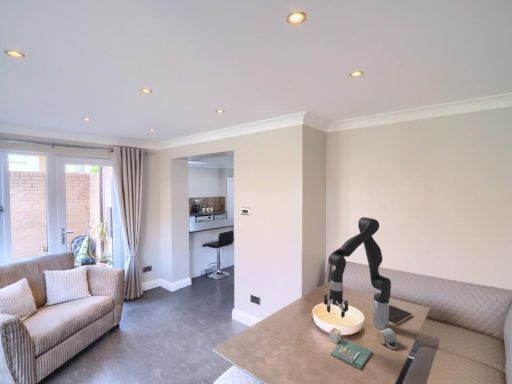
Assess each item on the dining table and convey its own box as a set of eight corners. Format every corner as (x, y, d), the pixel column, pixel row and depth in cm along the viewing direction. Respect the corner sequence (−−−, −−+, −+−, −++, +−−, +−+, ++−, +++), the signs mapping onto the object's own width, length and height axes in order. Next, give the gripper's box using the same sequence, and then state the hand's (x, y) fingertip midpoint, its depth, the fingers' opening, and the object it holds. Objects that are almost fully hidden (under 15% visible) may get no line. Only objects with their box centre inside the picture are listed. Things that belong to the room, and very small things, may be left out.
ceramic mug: (375, 340, 154) (376, 328, 153) (385, 337, 157) (386, 325, 156) (390, 351, 144) (391, 338, 143) (401, 348, 147) (401, 335, 146)
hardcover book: (411, 316, 183) (412, 313, 183) (395, 326, 170) (395, 323, 170) (389, 307, 196) (389, 304, 196) (372, 316, 183) (372, 313, 183)
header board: (344, 340, 153) (344, 329, 153) (372, 352, 143) (372, 341, 142) (330, 355, 140) (330, 343, 140) (359, 369, 129) (360, 357, 129)
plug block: (333, 337, 157) (333, 327, 156) (340, 340, 154) (340, 330, 153) (329, 340, 153) (329, 330, 153) (336, 344, 150) (336, 333, 150)
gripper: (350, 289, 150) (349, 316, 151) (328, 282, 160) (327, 308, 160) (345, 293, 144) (344, 321, 145) (322, 286, 154) (321, 312, 155)
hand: (335, 314), depth 153 cm, fingers open, 8 cm apart
